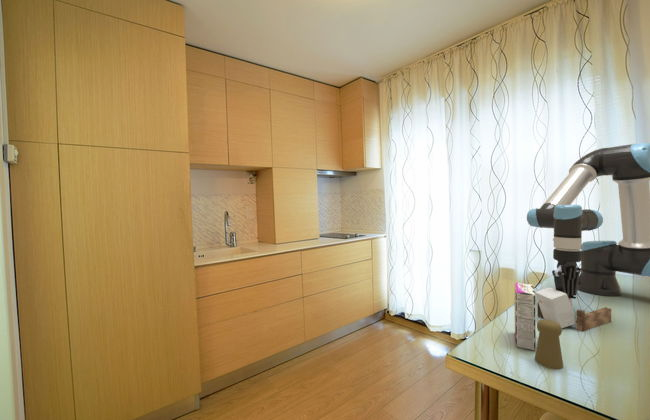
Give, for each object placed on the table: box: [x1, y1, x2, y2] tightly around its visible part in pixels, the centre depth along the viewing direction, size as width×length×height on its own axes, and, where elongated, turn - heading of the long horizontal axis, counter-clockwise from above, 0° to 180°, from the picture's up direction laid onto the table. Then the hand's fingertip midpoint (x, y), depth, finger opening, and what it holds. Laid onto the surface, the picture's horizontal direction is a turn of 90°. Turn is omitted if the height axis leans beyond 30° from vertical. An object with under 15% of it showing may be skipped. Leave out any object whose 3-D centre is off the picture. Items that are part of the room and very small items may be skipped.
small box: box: [535, 286, 577, 329], centre depth 100 cm, size 8×6×10 cm
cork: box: [534, 319, 564, 370], centre depth 77 cm, size 6×6×11 cm
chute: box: [536, 302, 612, 332], centre depth 104 cm, size 18×14×6 cm
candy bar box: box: [514, 282, 537, 352], centre depth 88 cm, size 11×5×16 cm, turn 148°
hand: (566, 316), depth 102 cm, fingers closed
